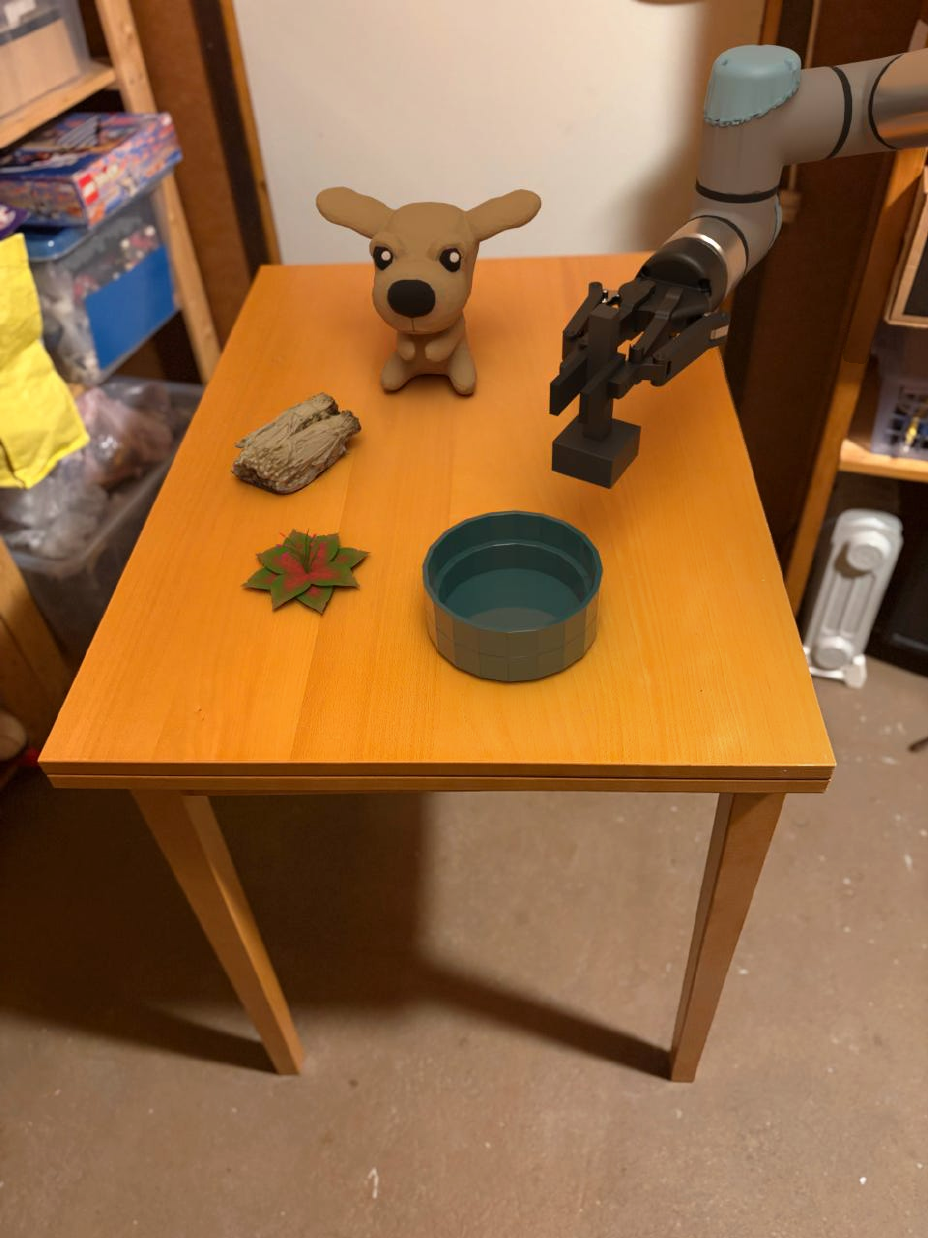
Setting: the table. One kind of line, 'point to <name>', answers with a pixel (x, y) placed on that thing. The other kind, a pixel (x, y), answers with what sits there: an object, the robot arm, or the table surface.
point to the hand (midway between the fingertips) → (568, 403)
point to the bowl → (512, 594)
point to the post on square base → (598, 418)
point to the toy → (426, 273)
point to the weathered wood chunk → (295, 445)
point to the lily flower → (306, 569)
